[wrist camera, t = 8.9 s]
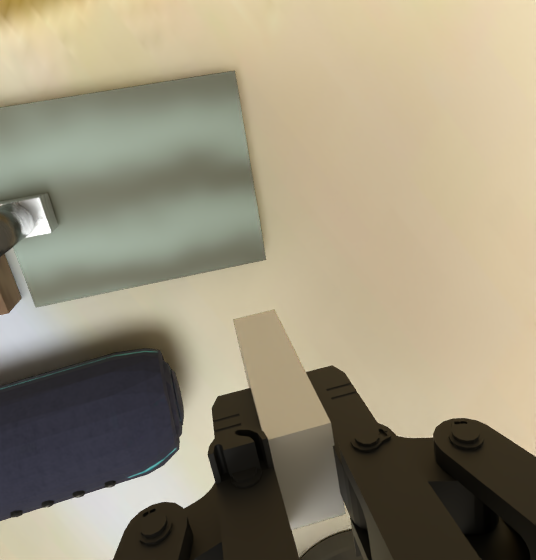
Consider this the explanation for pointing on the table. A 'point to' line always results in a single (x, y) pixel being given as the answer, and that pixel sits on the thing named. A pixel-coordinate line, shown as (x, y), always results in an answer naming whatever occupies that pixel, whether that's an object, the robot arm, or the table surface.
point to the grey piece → (25, 219)
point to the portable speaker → (86, 428)
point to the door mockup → (130, 187)
